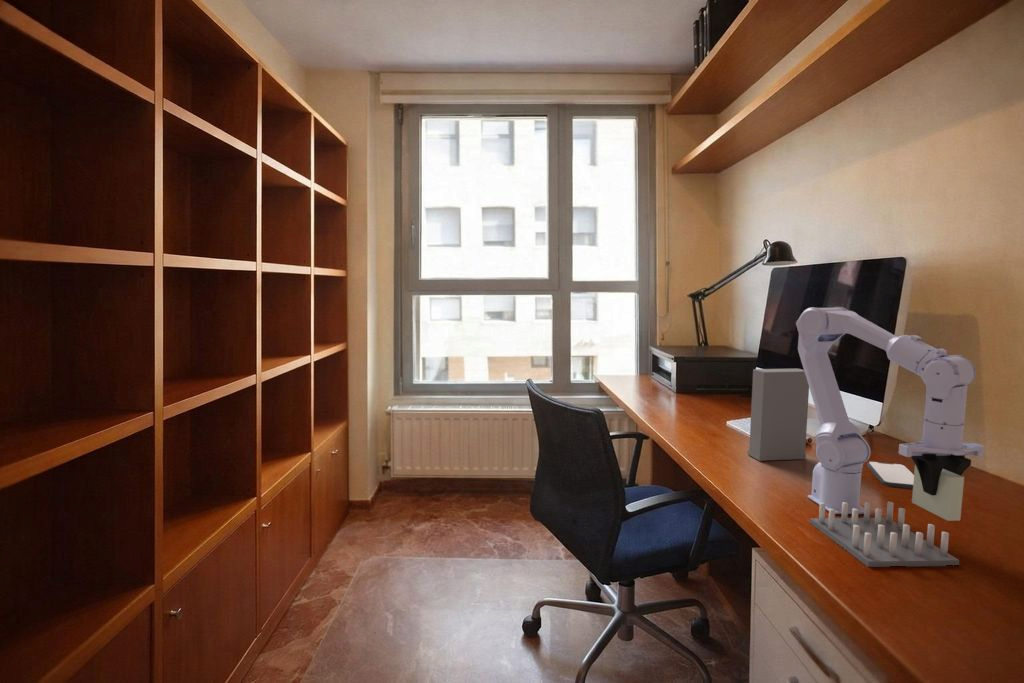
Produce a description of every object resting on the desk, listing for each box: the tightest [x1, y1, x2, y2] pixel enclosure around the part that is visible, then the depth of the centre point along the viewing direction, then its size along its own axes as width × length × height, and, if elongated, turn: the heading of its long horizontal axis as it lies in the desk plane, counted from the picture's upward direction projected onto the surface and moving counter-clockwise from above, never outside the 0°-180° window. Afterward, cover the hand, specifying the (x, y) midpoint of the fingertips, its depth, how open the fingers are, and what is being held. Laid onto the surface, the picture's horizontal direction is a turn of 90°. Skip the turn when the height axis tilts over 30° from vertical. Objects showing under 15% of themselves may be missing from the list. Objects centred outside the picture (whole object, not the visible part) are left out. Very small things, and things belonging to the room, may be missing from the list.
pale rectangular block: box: [911, 464, 965, 522], centre depth 98 cm, size 8×2×8 cm, turn 2°
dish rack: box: [809, 501, 960, 568], centre depth 99 cm, size 17×16×5 cm
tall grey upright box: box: [746, 368, 810, 462], centre depth 148 cm, size 14×6×25 cm, turn 97°
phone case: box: [866, 461, 914, 490], centre depth 133 cm, size 9×2×16 cm
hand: (937, 493), depth 98 cm, fingers closed on pale rectangular block, 2 cm apart
